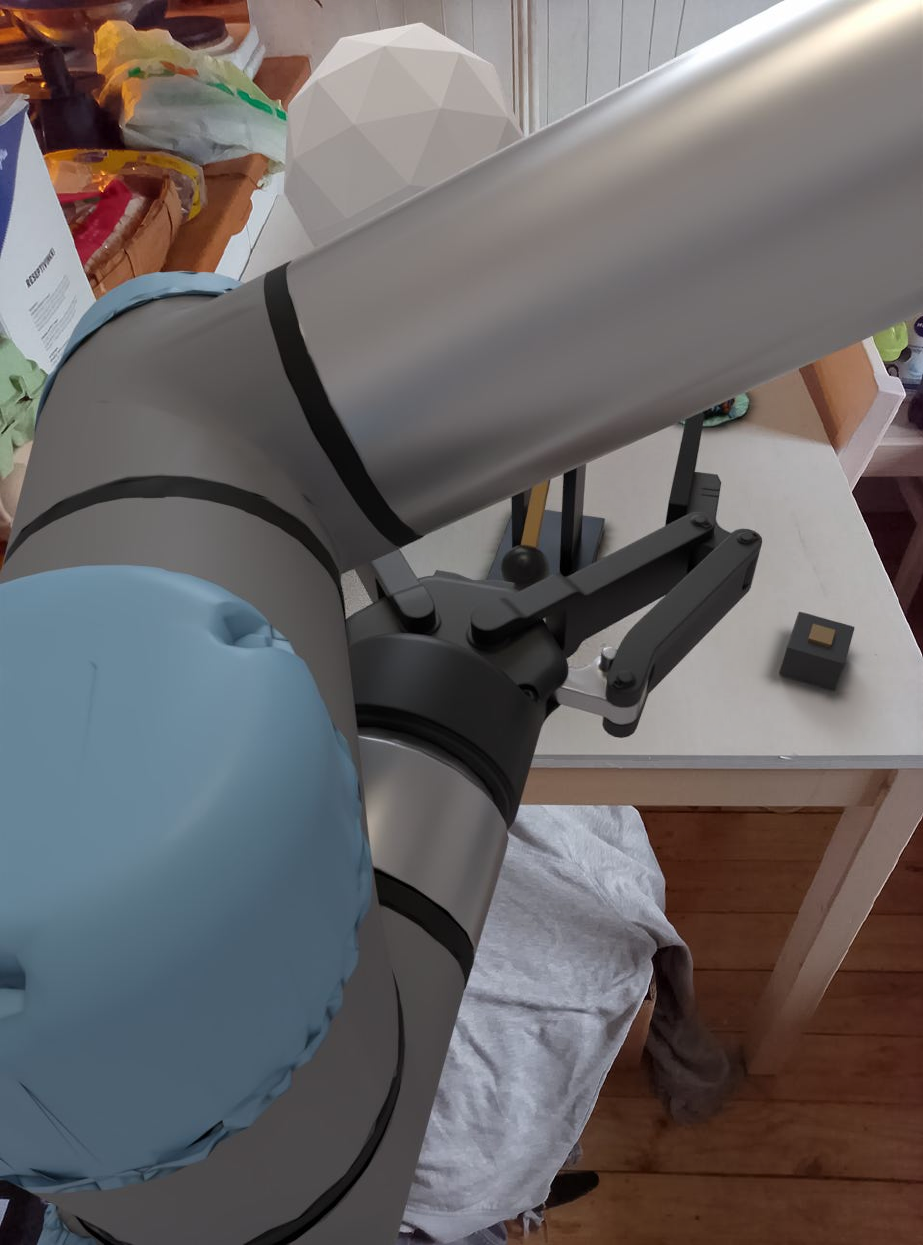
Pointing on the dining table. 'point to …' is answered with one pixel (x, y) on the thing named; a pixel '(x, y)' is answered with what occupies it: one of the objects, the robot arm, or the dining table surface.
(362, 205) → the light fixture
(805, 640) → the dark grey block
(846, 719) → the dining table surface
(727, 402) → the dish
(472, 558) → the dining table surface
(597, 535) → the switch bracket
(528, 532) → the switch lever
